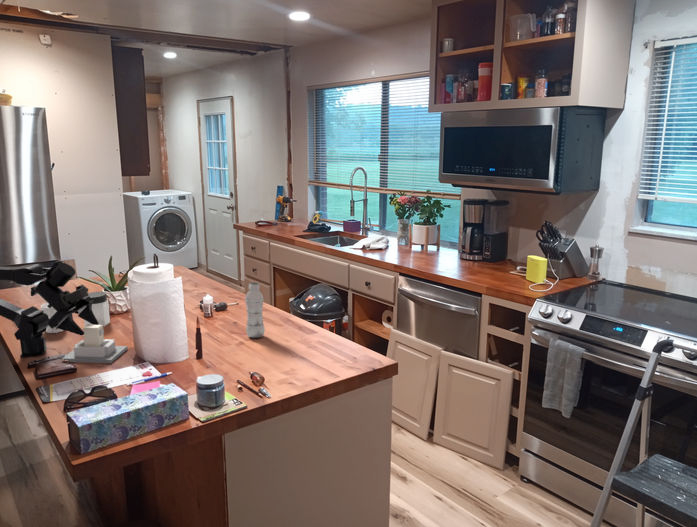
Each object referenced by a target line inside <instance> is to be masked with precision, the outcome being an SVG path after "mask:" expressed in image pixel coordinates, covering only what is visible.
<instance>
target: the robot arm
mask: <svg viewBox="0 0 697 527" xmlns="http://www.w3.org/2000/svg"><path fill="white" fill-rule="evenodd" d="M75 275H76V270H75V268H74V267H73V266H72V265H70V264H68V263H66V262H62V261H61V260H60V259H59V260H57V261H55V262H54V263H53V264H52V265H51V267H50V268H47V267H43V265H41V264H39V263H37V264H36V263H35V264H34V263H33V264H27V265H26V264H25V265H22V266H0V281H10V282H13V283H15V284H17V285H21V286H27V287H28V286H32V285H34V284H36V283H38V284H36V286H35V285H34V286H32V287H30V296H31V297H34V296H37V295H39V296H40V297H41V298H42V299H43V300H44V301H45V303H49V305H48V307H49V308H51V307H53V308H54V309H55V310H56V311H57V312H56V313H55V314H54V315H53V316H52V317H51V318H50V319H49V318H48V315H47V314H45V313H43V312H44V311H43V310H41V309H39V308H38V307H36V306H30V307H28V308H26V309H25V308H22V307H19V306H17V305H16V304H13V303H11V302H9V301H7V300H4V299H2V298H0V317H3V318H5V319H7V320H10V321H11V322H13V323H14V324H15V326H16V327H17V330H16V332H14V333H13V335H14V337H15V339H16V340H18V341H19V342H20V344H19V345H20V351H21V353H20V355H19V357H20V358H28V357H38V356H39V357H40V356H43V355H44V354H45V352H46V350H47V341H46V340H47V339H46V337H44V333H46V328H47V327H48V325H49V326H50V327H51V328H52V329H53V328H55V327H56V329H61V330H64V331H66V332H69V333H73V334H75V335H79V336H84V332H83V328H82V327H80V326H79V325H78V324H77V322H76V321H75V320H74V316H73V314H77V317H78V318H80V319H82V320H83V321H84V320H86V321H88V322H89V323H91V324H93V325H98V324H99V323H98V321H97V319H96V317H95V315H94V314H93V311H92V304H93V302H92V301H93V299H92V298H91V297H90V296H89V295H88V293H89V288H87V286H85V285H84V284H80V285H78V286H76V287H75V290H73V291H72V292H70V291H69V290H65V291H64V290H63V289H62V288H63V287H65V286H66V285H67V284H68V282H69V281H71V279H72V278H74V276H75ZM91 302H92V303H91Z"/></svg>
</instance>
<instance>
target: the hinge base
mask: <svg viewBox="0 0 697 527" xmlns="http://www.w3.org/2000/svg"><path fill="white" fill-rule="evenodd" d="M104 342H105V345H104V346H103V347H96V346H85V344H84V339H82V340H81V341H79V342H77V343H76V344H75V345H73V350H71V351H70V352H69V353H67V354H66V355H64V356H63V357H61V360H62V359H64V360H68V361H71V362H70V363H84V364H85V363H88V364H89V363H90V364H112V363H113V362H115V361H116V360H117V359H118V358H119V357H120V356H122V355H123V354H124V353H125V352H126V351H127V350H128V345H127V346H126V345H116V340H115V339H109V338H108V339H107V338H106V339H105V338H104Z"/></svg>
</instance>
